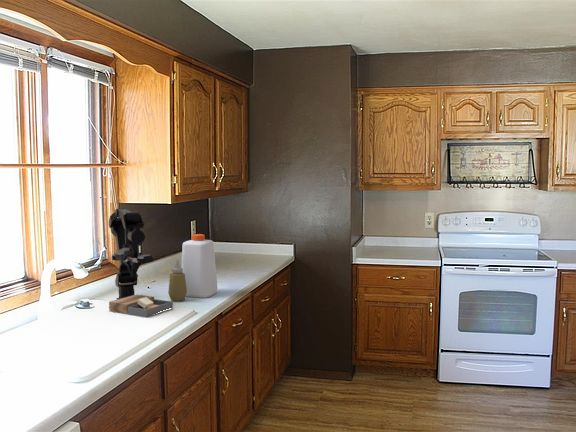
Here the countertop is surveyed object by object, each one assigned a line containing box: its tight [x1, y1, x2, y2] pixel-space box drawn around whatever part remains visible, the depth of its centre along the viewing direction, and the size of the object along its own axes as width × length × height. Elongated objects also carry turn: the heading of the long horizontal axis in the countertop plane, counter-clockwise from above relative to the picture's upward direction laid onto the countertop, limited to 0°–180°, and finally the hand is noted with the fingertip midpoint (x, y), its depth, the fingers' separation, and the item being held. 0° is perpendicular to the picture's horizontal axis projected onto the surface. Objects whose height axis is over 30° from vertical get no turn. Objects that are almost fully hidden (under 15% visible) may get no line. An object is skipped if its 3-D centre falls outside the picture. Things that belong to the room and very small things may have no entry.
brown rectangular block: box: [108, 293, 155, 315], centre depth 246 cm, size 10×16×4 cm, turn 151°
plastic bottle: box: [180, 233, 218, 299], centre depth 272 cm, size 15×15×28 cm
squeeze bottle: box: [168, 259, 187, 303], centre depth 261 cm, size 8×8×18 cm
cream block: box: [137, 297, 154, 309], centre depth 242 cm, size 4×4×2 cm
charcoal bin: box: [127, 298, 174, 318], centre depth 242 cm, size 10×16×3 cm, turn 151°
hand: (133, 277), depth 252 cm, fingers closed
